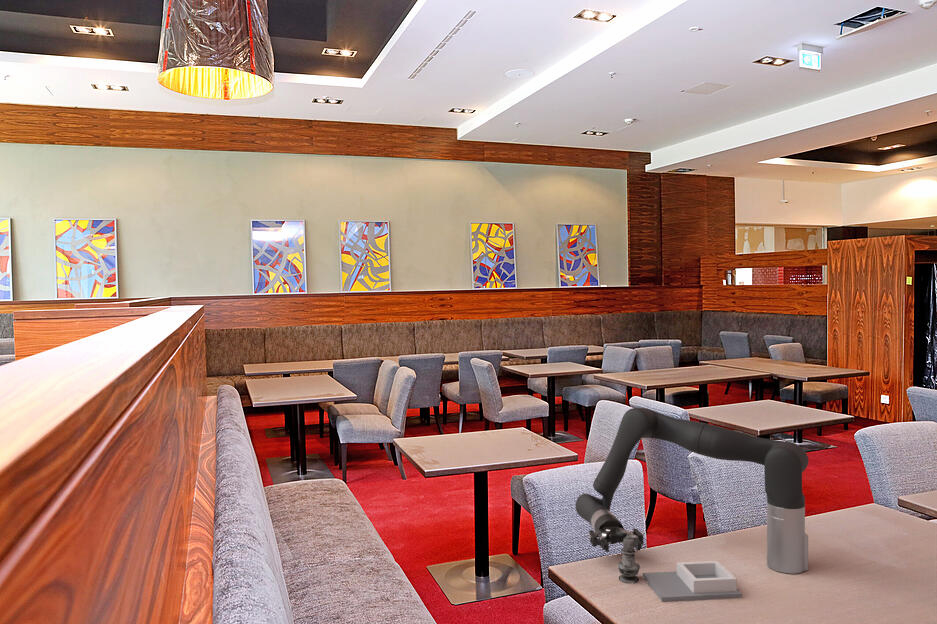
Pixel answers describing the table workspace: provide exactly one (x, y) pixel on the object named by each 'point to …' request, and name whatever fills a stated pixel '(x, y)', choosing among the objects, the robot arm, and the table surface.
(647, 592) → the table surface
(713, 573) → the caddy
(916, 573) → the table surface
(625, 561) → the salt shaker
